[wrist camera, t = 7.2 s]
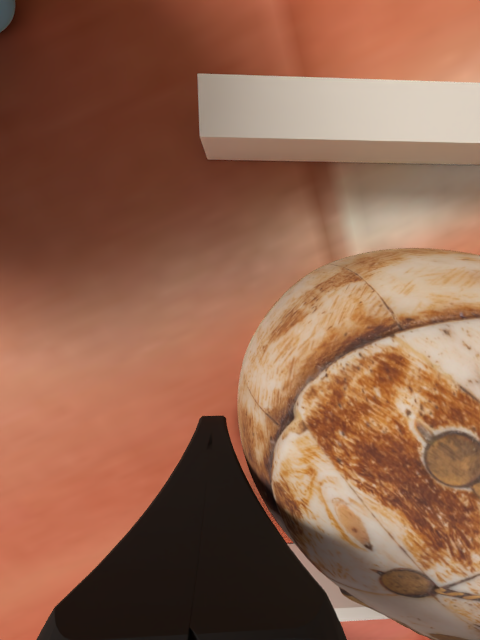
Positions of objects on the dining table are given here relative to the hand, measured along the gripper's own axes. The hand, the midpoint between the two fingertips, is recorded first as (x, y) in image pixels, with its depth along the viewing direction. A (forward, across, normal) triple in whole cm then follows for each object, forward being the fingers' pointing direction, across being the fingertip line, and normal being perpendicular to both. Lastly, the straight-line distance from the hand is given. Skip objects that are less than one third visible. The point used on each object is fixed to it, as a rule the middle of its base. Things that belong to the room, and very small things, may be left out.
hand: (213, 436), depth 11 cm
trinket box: (+2, -8, 0) cm, 9 cm away
